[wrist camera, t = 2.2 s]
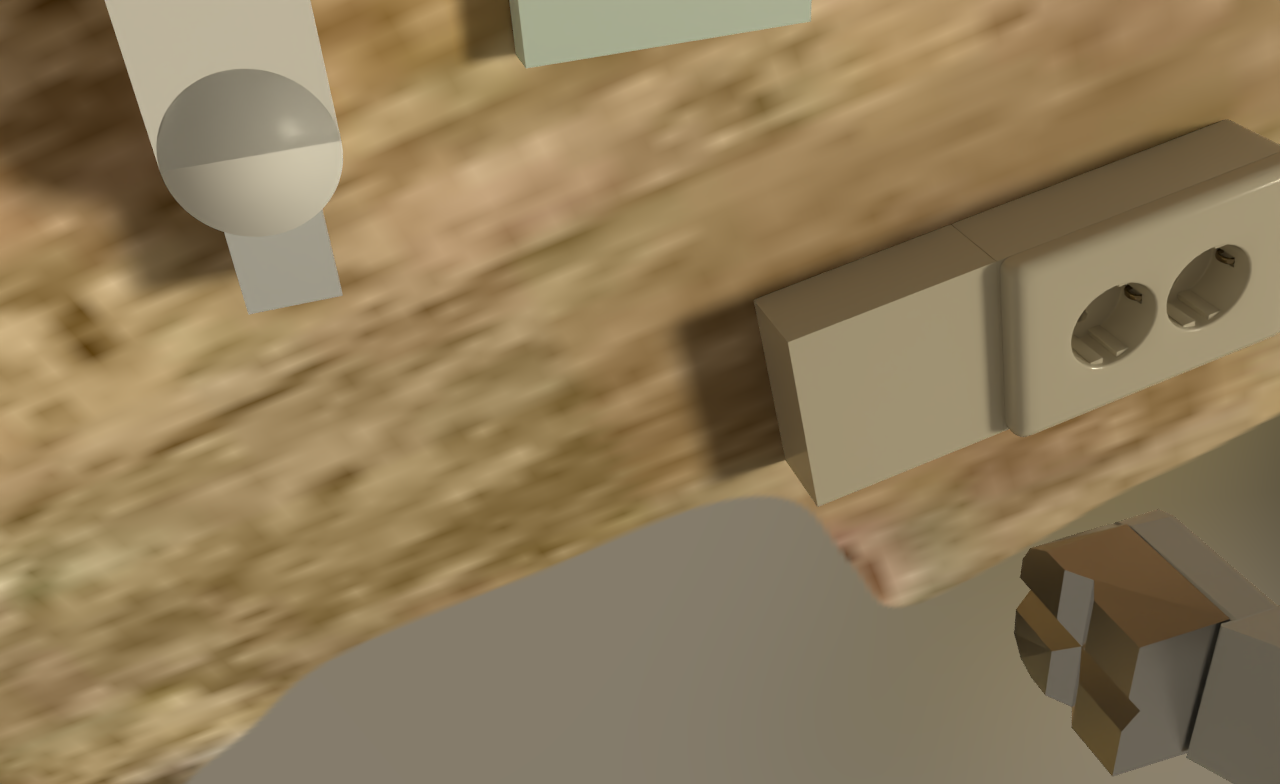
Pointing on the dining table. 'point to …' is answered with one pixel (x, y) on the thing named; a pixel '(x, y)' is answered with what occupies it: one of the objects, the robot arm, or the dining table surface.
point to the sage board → (636, 24)
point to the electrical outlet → (1027, 311)
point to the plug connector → (242, 132)
